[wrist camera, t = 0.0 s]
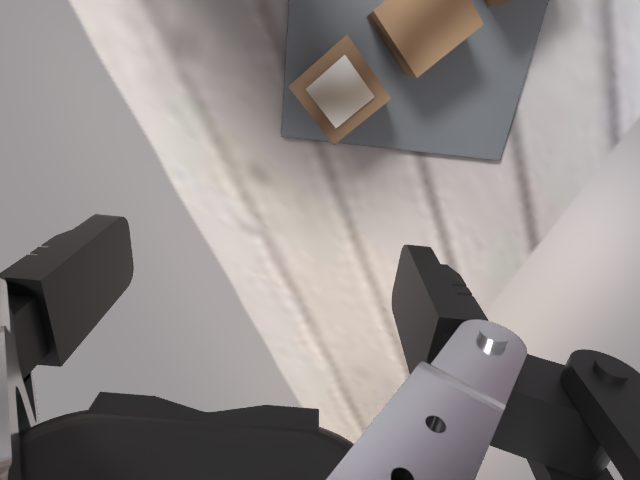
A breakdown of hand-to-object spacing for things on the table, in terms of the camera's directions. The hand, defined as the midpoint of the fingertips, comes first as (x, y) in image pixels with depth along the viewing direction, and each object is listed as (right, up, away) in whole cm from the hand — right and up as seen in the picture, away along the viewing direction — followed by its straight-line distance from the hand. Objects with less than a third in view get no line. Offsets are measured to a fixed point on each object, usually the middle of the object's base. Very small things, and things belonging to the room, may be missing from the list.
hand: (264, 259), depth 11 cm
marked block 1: (+3, +15, +25) cm, 29 cm away
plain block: (+10, +19, +22) cm, 31 cm away
